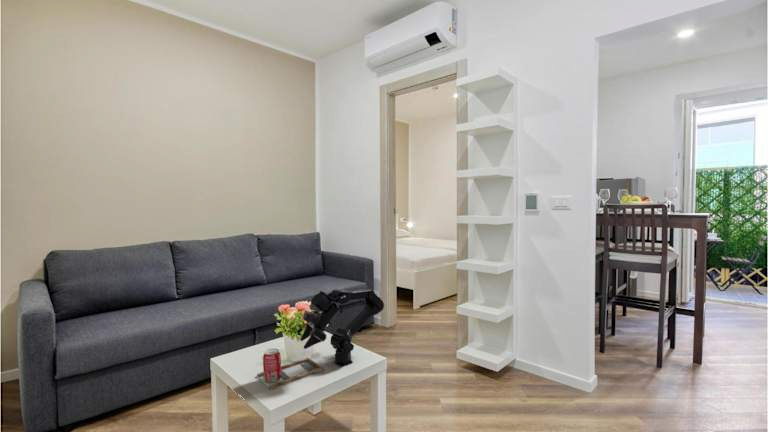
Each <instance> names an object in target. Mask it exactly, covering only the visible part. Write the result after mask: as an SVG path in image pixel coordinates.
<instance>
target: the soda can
mask: <svg viewBox="0 0 768 432" xmlns="http://www.w3.org/2000/svg"><path fill="white" fill-rule="evenodd" d="M281 358H282V357H281V352H280V350H279V349H278V348H268V349H266V350H265V351H264V353H263V357H262V369H263V371H262V372H264V380H265V381H267V382H276V381H278V380H279V379H280V378H281V366H282V359H281Z"/></svg>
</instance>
